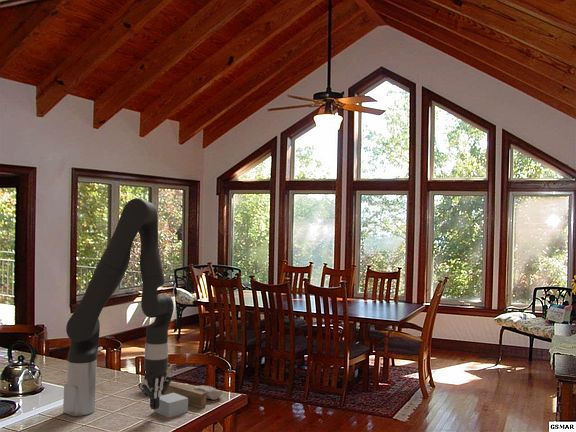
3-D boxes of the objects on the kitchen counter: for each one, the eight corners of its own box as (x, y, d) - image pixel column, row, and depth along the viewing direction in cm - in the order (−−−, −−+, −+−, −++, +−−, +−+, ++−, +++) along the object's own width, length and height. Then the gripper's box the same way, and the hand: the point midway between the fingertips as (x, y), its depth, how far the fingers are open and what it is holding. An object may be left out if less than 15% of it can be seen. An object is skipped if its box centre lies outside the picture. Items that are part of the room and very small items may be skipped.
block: (168, 418, 192) (169, 403, 192) (154, 412, 198) (154, 397, 198) (187, 412, 198) (188, 397, 198) (173, 406, 204) (173, 392, 204)
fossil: (203, 384, 221) (223, 377, 217) (207, 401, 219) (228, 395, 215) (188, 388, 213) (209, 381, 209) (192, 406, 212) (214, 399, 207)
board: (200, 408, 202) (201, 394, 202) (162, 397, 213) (162, 383, 213) (205, 406, 204) (206, 392, 204) (166, 395, 215) (167, 382, 215)
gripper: (148, 361, 184) (146, 416, 184) (179, 354, 195) (177, 406, 195) (132, 357, 188) (131, 411, 188) (163, 350, 199) (161, 401, 199)
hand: (154, 408), depth 192 cm, fingers closed
